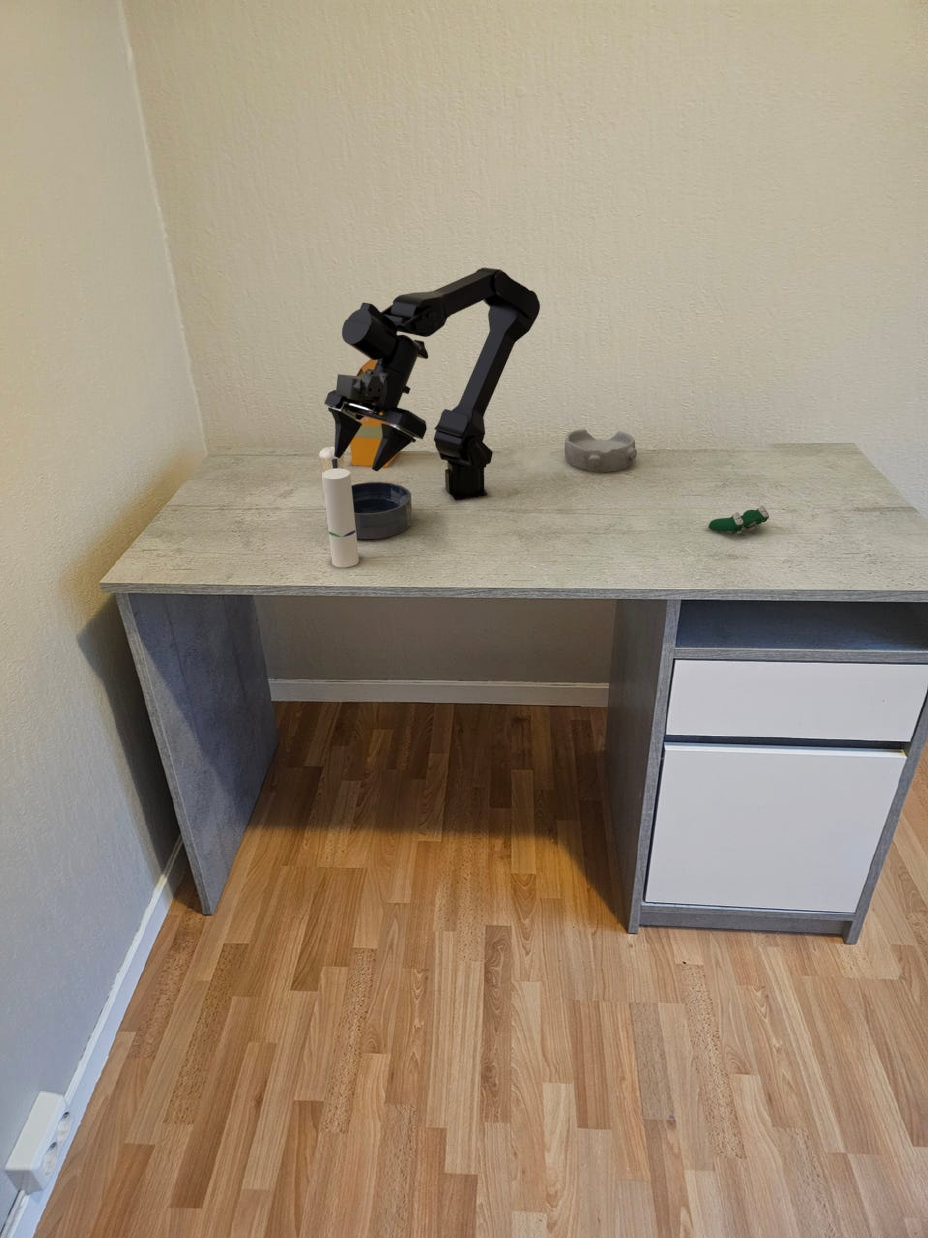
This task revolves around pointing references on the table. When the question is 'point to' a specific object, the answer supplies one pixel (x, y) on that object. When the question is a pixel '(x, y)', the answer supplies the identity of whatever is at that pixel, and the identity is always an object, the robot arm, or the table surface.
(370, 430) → the orange juice
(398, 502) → the bowl
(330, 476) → the tube
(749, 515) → the green elongated piece
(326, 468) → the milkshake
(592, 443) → the dish
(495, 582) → the table surface
